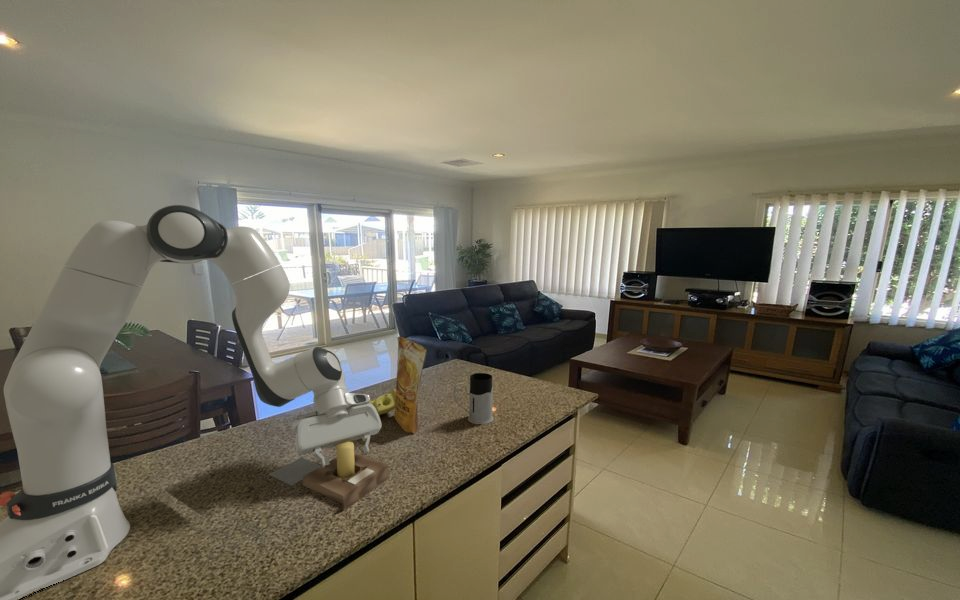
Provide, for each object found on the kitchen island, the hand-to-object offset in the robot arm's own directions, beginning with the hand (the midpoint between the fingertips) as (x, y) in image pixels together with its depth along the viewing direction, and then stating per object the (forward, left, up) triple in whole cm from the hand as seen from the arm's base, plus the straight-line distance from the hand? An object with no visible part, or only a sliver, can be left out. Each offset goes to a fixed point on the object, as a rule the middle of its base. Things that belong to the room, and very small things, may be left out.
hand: (346, 460), depth 90 cm
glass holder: (+46, -8, -7) cm, 48 cm away
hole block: (0, +1, -7) cm, 7 cm away
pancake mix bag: (+33, +9, -7) cm, 35 cm away
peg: (0, +1, -7) cm, 7 cm away
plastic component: (+31, +25, -7) cm, 40 cm away
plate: (-4, +14, -7) cm, 16 cm away
